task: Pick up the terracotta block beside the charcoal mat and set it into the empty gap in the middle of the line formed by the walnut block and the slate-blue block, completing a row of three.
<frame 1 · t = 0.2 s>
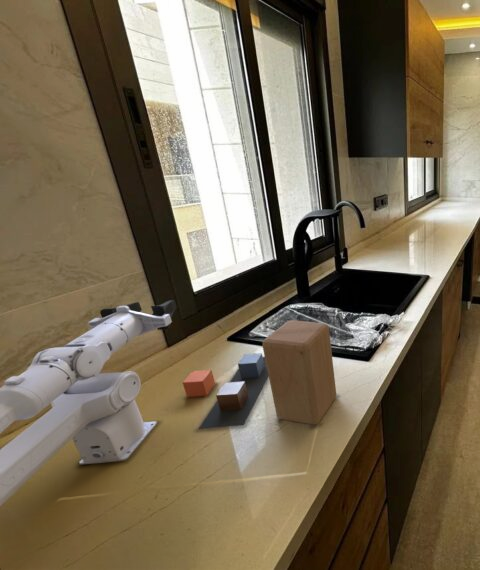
hand: (156, 304, 76), 21 cm above the worktop, tool horizontal, fingers open, 7 cm apart
wooden block: (308, 408, 75), on the worktop
line mat: (245, 387, 81), on the worktop
terracotta block: (201, 390, 80), on the worktop
slate-blue block: (253, 372, 86), resting on line mat
walnut block: (234, 403, 75), resting on line mat
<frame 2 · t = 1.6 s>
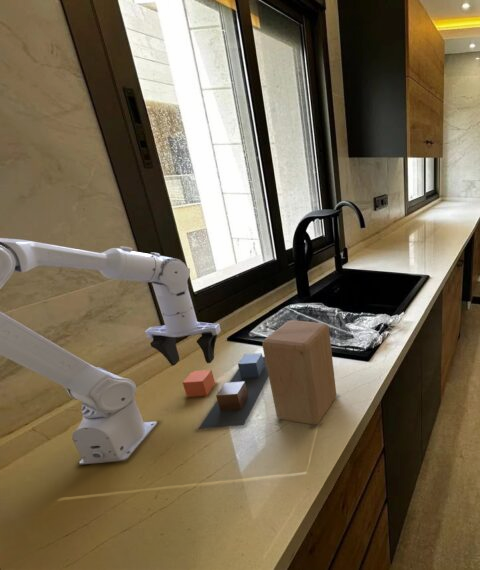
hand: (193, 361, 77), 8 cm above the worktop, tool pointing down, fingers open, 7 cm apart
nothing on the worktop moved.
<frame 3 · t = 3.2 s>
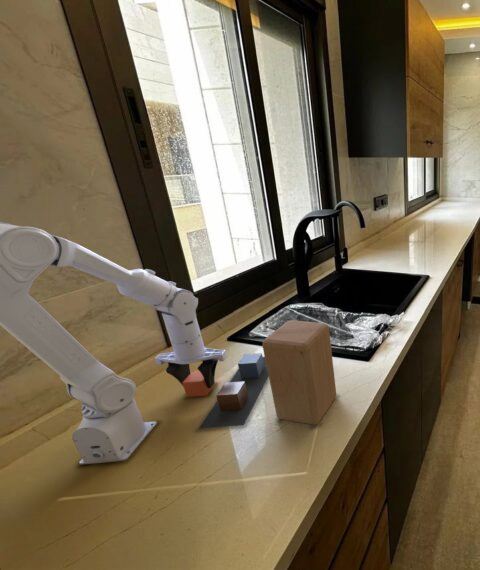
hand: (200, 386, 79), 1 cm above the worktop, tool pointing down, fingers closed on terracotta block, 4 cm apart
terracotta block: (201, 390, 80), on the worktop, touching gripper
everything else where it was.
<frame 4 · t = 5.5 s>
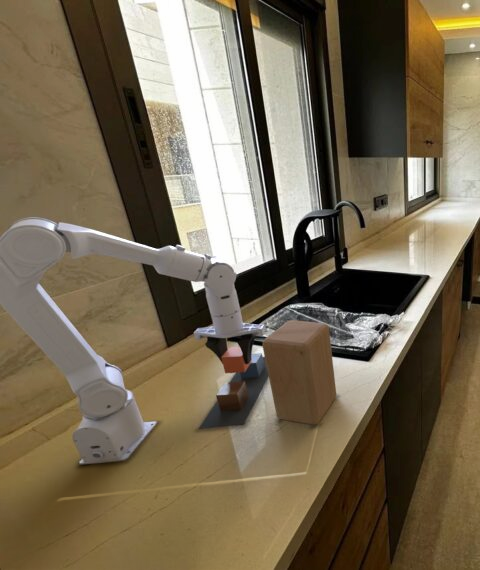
hand: (237, 362, 78), 8 cm above the worktop, tool pointing down, fingers closed on terracotta block, 4 cm apart
terracotta block: (238, 367, 79), point 6 cm above the worktop, touching gripper
everything else where it was.
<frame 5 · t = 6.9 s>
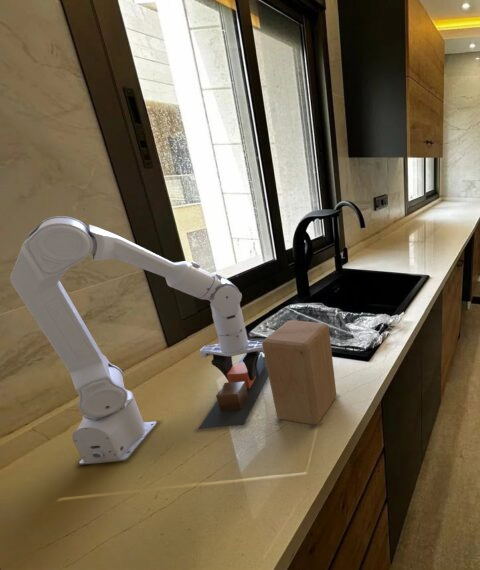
hand: (242, 378, 80), 3 cm above the worktop, tool pointing down, fingers closed on terracotta block, 4 cm apart
terracotta block: (243, 383, 80), point 1 cm above the worktop, touching gripper
everything else where it was.
when the fingers open (2 cm above the worktop, at t = 7.7 s): terracotta block stays where it is, resting on line mat.
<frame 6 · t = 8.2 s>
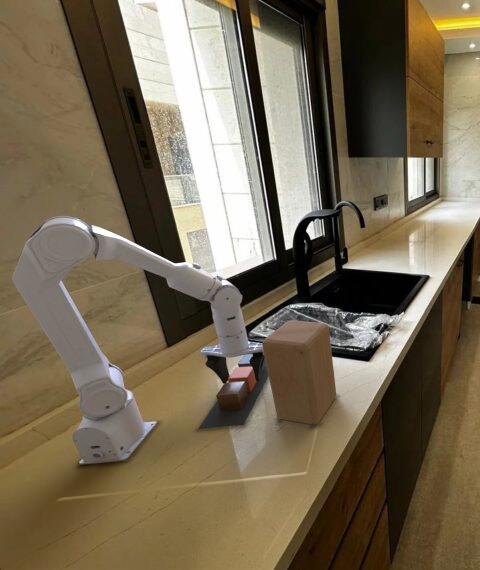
hand: (242, 379, 80), 2 cm above the worktop, tool pointing down, fingers open, 7 cm apart
terracotta block: (244, 386, 81), resting on line mat
everything else where it was.
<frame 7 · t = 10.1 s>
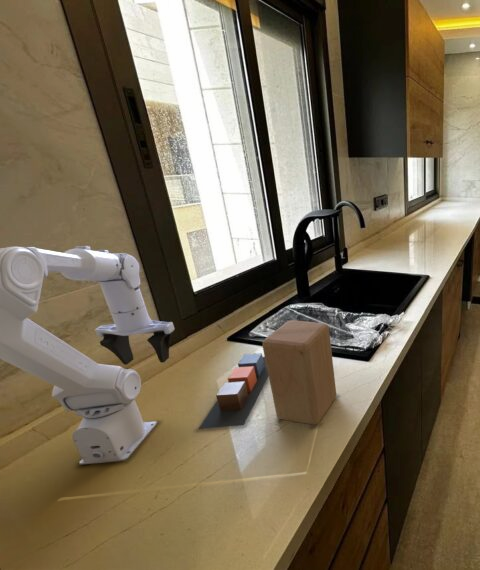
hand: (147, 361, 75), 9 cm above the worktop, tool pointing down, fingers open, 7 cm apart
nothing on the worktop moved.
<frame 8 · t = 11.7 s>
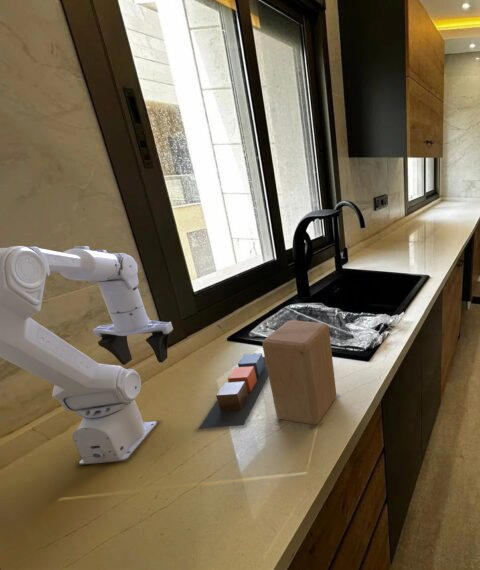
hand: (145, 361, 75), 9 cm above the worktop, tool pointing down, fingers open, 7 cm apart
nothing on the worktop moved.
at the end: terracotta block 0.1 cm from the target spot, resting on line mat; terracotta block tilted 0°; walnut block moved 0.0 cm from its start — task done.
